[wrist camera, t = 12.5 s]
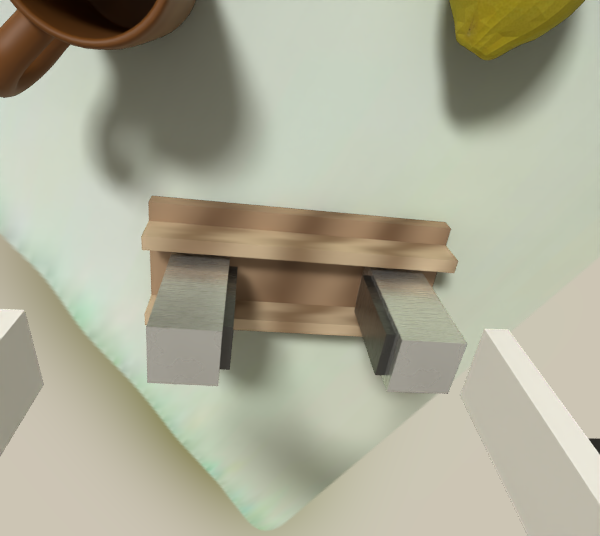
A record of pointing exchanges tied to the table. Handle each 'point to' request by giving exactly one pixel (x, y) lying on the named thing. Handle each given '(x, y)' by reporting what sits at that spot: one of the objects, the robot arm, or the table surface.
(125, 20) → the mug
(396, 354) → the finger
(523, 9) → the lemon
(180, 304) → the block
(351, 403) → the table surface
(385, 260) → the rail
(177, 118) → the table surface
